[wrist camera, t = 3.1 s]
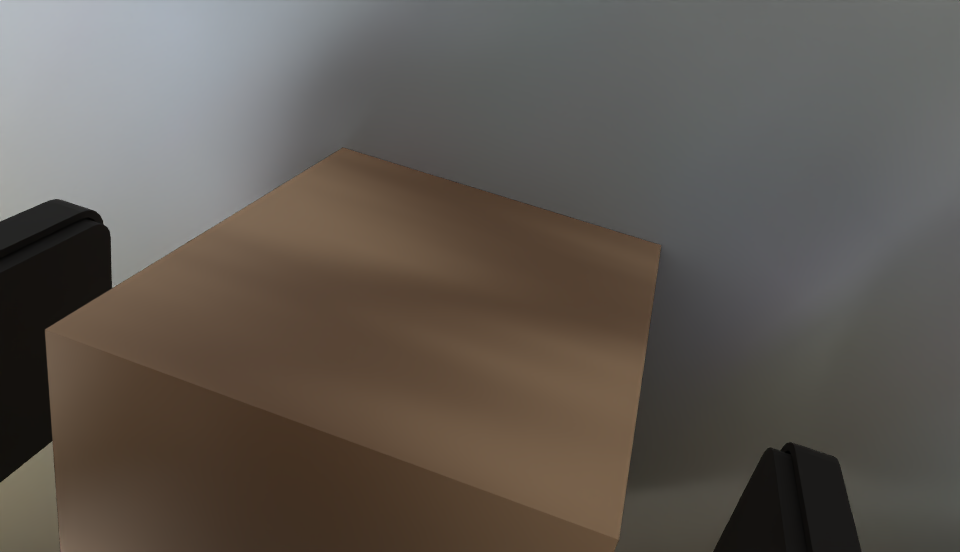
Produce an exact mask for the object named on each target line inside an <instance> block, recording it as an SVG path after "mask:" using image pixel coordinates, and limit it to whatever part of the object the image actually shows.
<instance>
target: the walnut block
mask: <svg viewBox="0 0 960 552" xmlns="http://www.w3.org/2000/svg"><path fill="white" fill-rule="evenodd" d="M660 251H661V245H659V244H656V243H652V242H649V241H646V240H643V239H639V238H636V237H633V236H630V235H626V234H623V233H620V232H617V231H613V230H610V229H607V228H603V227H600V226H597V225H594V224H590V223H587V222H584V221H581V220H577V219H574V218H571V217H568V216H564V215H561V214H558V213H555V212H551V211H548V210H545V209H542V208H538V207H535V206H532V205H528V204H525V203H522V202H519V201H515V200H512V199H509V198H506V197H502V196H499V195H496V194H493V193H489V192H486V191H483V190H480V189H476V188H473V187H470V186H467V185H463V184H460V183H457V182H453V181H450V180H447V179H444V178H440V177H437V176H434V175H431V174H427V173H424V172H421V171H418V170H414V169H411V168H408V167H405V166H401V165H398V164H395V163H391V162H388V161H385V160H382V159H378V158H375V157H372V156H369V155H365V154H362V153H359V152H356V151H352V150H349V149H346V148H341V149H340V150H338V151H337V152H335V153H333V154H332V155H330V156H328V157H327V158H325V159H323V160H322V161H320V162H319V163H317V164H315V165H314V166H312V167H310V168H309V169H307V170H305V171H304V172H302V173H301V174H299V175H297V176H296V177H294V178H292V179H291V180H289V181H287V182H286V183H284V184H282V185H281V186H279V187H278V188H276V189H274V190H273V191H271V192H269V193H268V194H266V195H264V196H263V197H261V198H260V199H258V200H256V201H255V202H253V203H251V204H250V205H248V206H246V207H245V208H243V209H242V210H240V211H238V212H237V213H235V214H233V215H232V216H230V217H228V218H227V219H225V220H224V221H222V222H220V223H219V224H217V225H215V226H214V227H212V228H210V229H209V230H207V231H205V232H204V233H202V234H201V235H199V236H197V237H196V238H194V239H192V240H191V241H189V242H187V243H186V244H184V245H183V246H181V247H179V248H178V249H176V250H174V251H173V252H171V253H169V254H168V255H166V256H165V257H163V258H161V259H160V260H158V261H156V262H155V263H153V264H151V265H150V266H148V267H147V268H145V269H143V270H142V271H140V272H138V273H137V274H135V275H133V276H132V277H130V278H128V279H127V280H125V281H124V282H122V283H120V284H119V285H117V286H115V287H114V288H112V289H110V290H109V291H107V292H106V293H104V294H102V295H101V296H99V297H97V298H96V299H94V300H92V301H91V302H89V303H88V304H86V305H84V306H83V307H81V308H79V309H78V310H76V311H74V312H73V313H71V314H70V315H68V316H66V317H65V318H63V319H61V320H60V321H58V322H56V323H55V324H53V325H51V326H50V327H48V328H47V329H45V339H46V354H47V368H48V382H49V397H50V411H51V425H52V440H53V454H54V468H55V483H56V497H57V511H58V526H59V540H60V552H614V550H615V548H616V546H617V543H618V541H619V536H620V529H621V522H622V515H623V508H624V501H625V494H626V487H627V480H628V473H629V466H630V460H631V453H632V446H633V439H634V432H635V425H636V418H637V411H638V404H639V397H640V390H641V383H642V376H643V369H644V362H645V355H646V348H647V342H648V335H649V328H650V321H651V314H652V307H653V300H654V293H655V286H656V279H657V272H658V265H659V258H660Z"/></svg>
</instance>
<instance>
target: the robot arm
mask: <svg viewBox="0 0 960 552" xmlns="http://www.w3.org/2000/svg"><path fill="white" fill-rule="evenodd" d="M110 289H112V277H111V237H110V231H109V230H108V228H107V227H106V226H105V225H103V220H102V218H101V216H100V215H99V214H98V213H97V212H95V211H93V210H90V209H87V208H84V207H81V206H78V205H75V204H72V203H69V202H66V201H63V200H58V199H54V200H50V201H47V202H45V203H42V204H40V205H38V206H35V207H33V208H31V209H29V210H26V211H24V212H22V213H19V214H17V215H15V216H12V217H10V218H8V219H5V220H3V221H1V222H0V482H2V481H3V480H4V479H5V478H7V477H8V476H9V475H10V474H12V473H13V472H14V471H15V470H17V469H18V468H19V467H20V466H22V465H23V464H24V463H25V462H27V461H28V460H29V459H30V458H32V457H33V456H34V455H35V454H37V453H38V452H39V451H40V450H42V449H43V448H44V447H45V446H47V445H48V444H49V443H50V442H51V441H53V440H52V425H51V411H50V397H49V382H48V368H47V354H46V339H45V329H47V328H48V327H50V326H51V325H53V324H55V323H56V322H58V321H60V320H61V319H63V318H65V317H66V316H68V315H70V314H71V313H73V312H74V311H76V310H78V309H79V308H81V307H83V306H84V305H86V304H88V303H89V302H91V301H92V300H94V299H96V298H97V297H99V296H101V295H102V294H104V293H106V292H107V291H109V290H110ZM713 552H861V548H860V544H859V540H858V536H857V532H856V528H855V524H854V520H853V516H852V512H851V508H850V504H849V500H848V496H847V492H846V488H845V484H844V480H843V476H842V472H841V468H840V464H839V462H838V460H837V458H835V457H834V456H831V455H828V454H825V453H822V452H819V451H816V450H813V449H810V448H807V447H804V446H801V445H798V444H795V443H792V442H789V443H786V444H785V445H784V446H783V448H782V449H781V451H779V450H776V449H773V448H768V449H767V450H766V451H765V452H764V454H763V455H762V457H761V459H760V461H759V463H758V465H757V467H756V469H755V471H754V473H753V475H752V477H751V479H750V481H749V483H748V485H747V486H746V488H745V490H744V492H743V494H742V496H741V498H740V500H739V502H738V504H737V506H736V508H735V510H734V512H733V514H732V516H731V518H730V520H729V522H728V524H727V526H726V528H725V530H724V531H723V533H722V535H721V537H720V539H719V541H718V543H717V545H716V547H715V549H714V551H713Z"/></svg>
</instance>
